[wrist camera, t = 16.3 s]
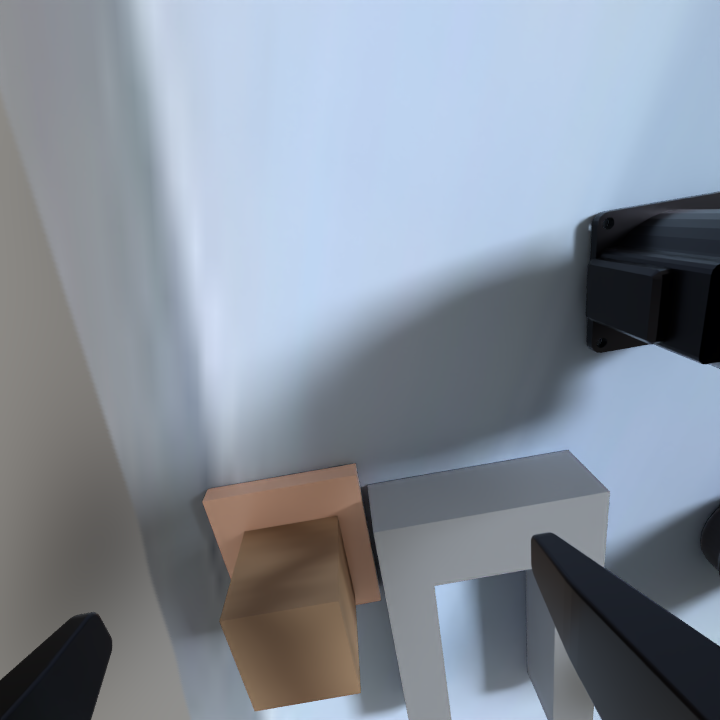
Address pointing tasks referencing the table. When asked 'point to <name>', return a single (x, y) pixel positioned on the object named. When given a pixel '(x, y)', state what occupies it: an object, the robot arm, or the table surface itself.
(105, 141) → the table surface
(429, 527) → the pocket board
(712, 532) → the camera lens
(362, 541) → the terracotta tile
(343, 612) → the walnut block
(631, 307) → the robot arm
